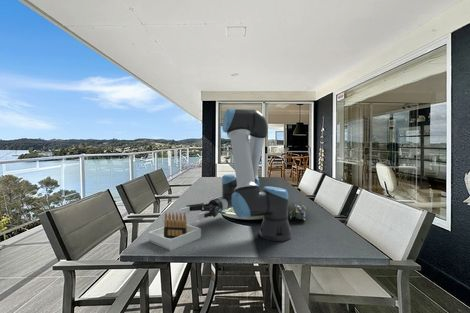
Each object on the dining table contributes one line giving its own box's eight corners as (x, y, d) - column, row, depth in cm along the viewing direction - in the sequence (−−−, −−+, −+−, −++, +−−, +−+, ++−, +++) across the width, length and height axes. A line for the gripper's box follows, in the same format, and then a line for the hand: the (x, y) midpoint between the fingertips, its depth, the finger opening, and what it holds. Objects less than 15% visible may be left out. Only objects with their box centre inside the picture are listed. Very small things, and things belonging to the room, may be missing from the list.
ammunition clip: (163, 237, 117) (163, 212, 116) (165, 236, 119) (164, 211, 118) (186, 238, 116) (185, 212, 115) (187, 237, 118) (187, 211, 117)
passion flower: (303, 229, 145) (310, 216, 138) (284, 226, 144) (291, 213, 137) (300, 213, 154) (307, 200, 146) (283, 210, 153) (289, 197, 146)
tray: (201, 237, 119) (200, 228, 119) (170, 250, 106) (170, 240, 105) (179, 230, 129) (179, 221, 129) (148, 241, 115) (148, 231, 115)
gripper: (235, 216, 133) (207, 227, 116) (201, 208, 148) (172, 217, 131) (235, 201, 132) (207, 211, 115) (201, 195, 147) (172, 203, 130)
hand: (188, 214), depth 123 cm, fingers open, 13 cm apart
